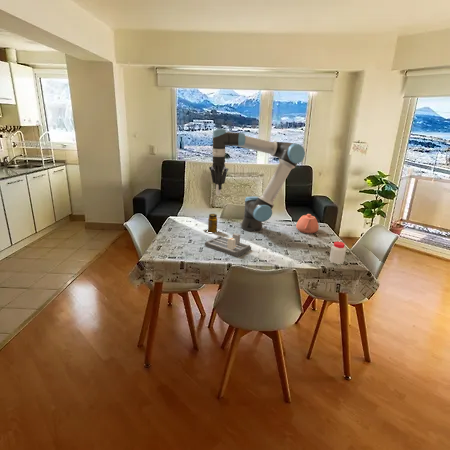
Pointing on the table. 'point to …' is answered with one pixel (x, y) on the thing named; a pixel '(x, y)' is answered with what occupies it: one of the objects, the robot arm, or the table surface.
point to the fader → (231, 243)
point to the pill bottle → (337, 252)
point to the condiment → (212, 223)
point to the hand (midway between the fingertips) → (218, 194)
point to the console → (221, 245)
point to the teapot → (307, 224)
